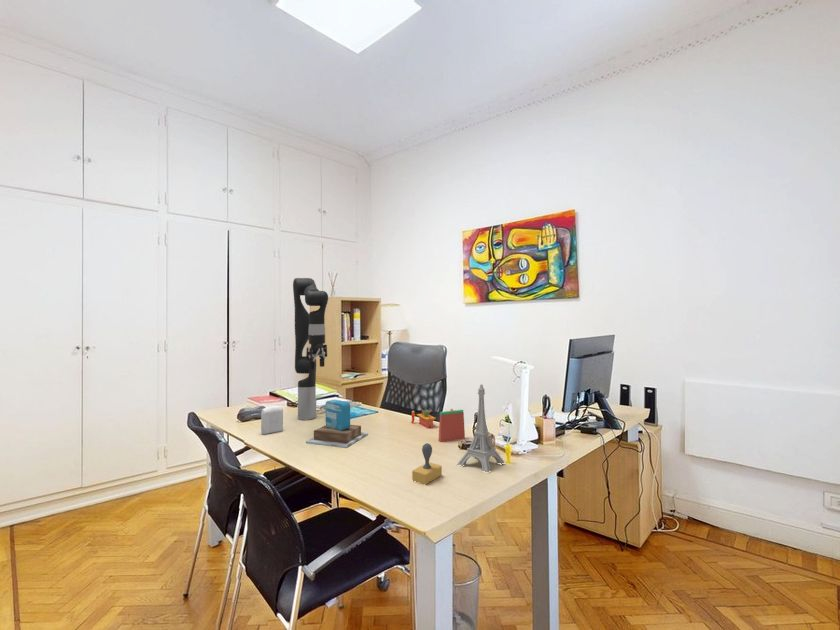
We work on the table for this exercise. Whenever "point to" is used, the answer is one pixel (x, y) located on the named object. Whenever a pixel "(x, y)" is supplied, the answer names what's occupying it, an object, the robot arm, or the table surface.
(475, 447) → the eiffel tower
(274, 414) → the photo printer
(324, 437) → the base
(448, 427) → the toy building block set
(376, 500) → the table surface
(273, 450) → the table surface
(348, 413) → the data package
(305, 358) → the robot arm
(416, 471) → the rubber stamp
